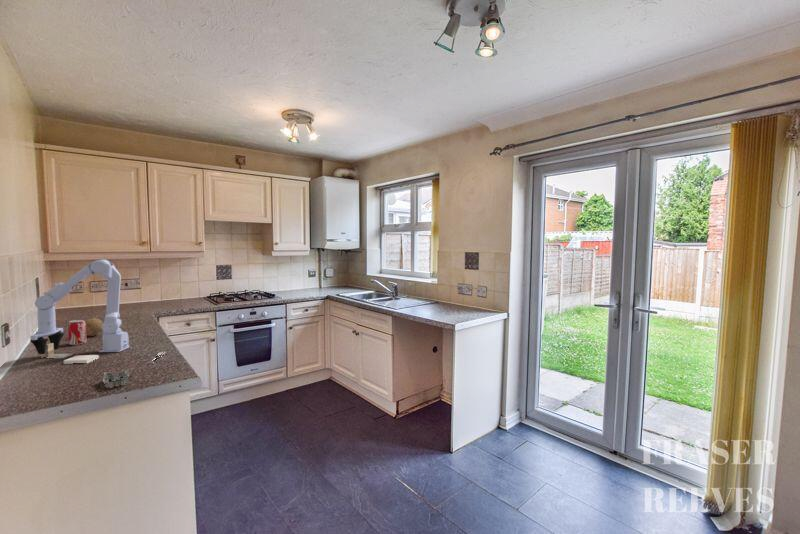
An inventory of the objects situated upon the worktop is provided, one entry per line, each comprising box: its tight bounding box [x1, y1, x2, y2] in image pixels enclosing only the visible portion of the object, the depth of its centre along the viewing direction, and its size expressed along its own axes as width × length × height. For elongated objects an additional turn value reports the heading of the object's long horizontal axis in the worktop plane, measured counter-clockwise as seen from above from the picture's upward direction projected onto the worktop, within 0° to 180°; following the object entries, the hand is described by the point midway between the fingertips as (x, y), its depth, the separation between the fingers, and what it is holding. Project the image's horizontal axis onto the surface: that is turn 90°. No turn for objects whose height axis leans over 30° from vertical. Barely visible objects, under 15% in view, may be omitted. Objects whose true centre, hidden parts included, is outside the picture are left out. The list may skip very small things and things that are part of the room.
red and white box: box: [67, 319, 88, 346], centre depth 180 cm, size 7×7×12 cm
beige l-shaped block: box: [40, 342, 74, 359], centre depth 160 cm, size 10×5×6 cm, turn 97°
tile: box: [63, 354, 100, 365], centre depth 155 cm, size 2×7×9 cm
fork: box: [151, 351, 166, 361], centre depth 155 cm, size 3×20×2 cm, turn 14°
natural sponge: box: [84, 317, 104, 337], centre depth 195 cm, size 9×9×10 cm
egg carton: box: [102, 369, 130, 388], centre depth 132 cm, size 11×8×4 cm
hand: (48, 351), depth 159 cm, fingers open, 6 cm apart
